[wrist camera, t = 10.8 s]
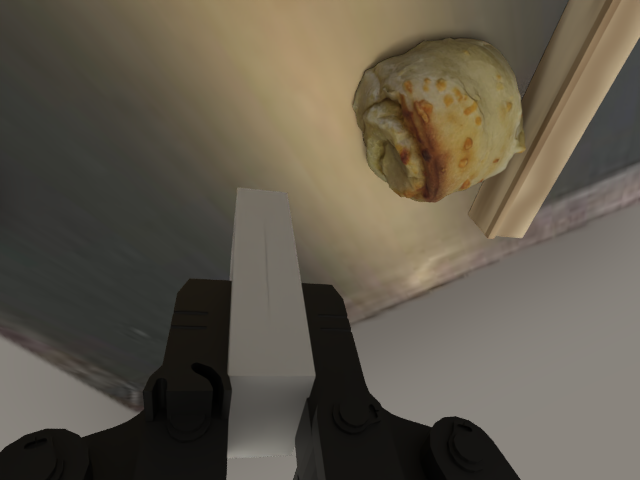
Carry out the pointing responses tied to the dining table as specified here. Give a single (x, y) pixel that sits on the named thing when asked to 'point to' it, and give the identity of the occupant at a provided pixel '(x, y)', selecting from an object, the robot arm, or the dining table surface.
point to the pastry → (440, 117)
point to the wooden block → (558, 109)
